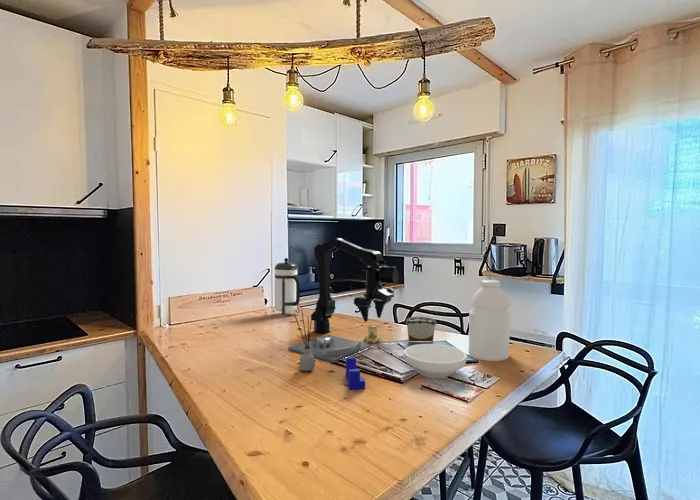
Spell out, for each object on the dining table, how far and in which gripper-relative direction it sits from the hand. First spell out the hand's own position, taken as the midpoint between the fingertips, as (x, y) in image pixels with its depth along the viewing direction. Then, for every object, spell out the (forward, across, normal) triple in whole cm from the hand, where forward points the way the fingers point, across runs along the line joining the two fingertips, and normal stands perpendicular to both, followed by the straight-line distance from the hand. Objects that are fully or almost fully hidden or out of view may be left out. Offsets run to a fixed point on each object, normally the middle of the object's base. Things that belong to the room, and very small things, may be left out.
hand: (372, 319), depth 162 cm
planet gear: (+9, 0, 0) cm, 9 cm away
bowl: (+9, -18, -37) cm, 42 cm away
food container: (+9, +11, -16) cm, 22 cm away
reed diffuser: (+9, -42, -3) cm, 43 cm away
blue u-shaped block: (+9, -39, -22) cm, 46 cm away
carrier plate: (+9, -19, +6) cm, 22 cm away
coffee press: (+9, +14, +67) cm, 69 cm away
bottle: (+9, +10, -44) cm, 46 cm away
